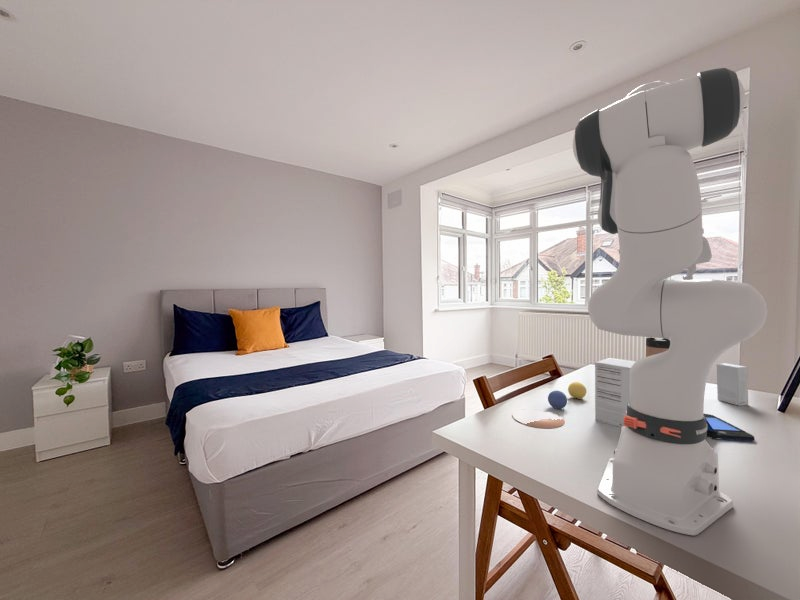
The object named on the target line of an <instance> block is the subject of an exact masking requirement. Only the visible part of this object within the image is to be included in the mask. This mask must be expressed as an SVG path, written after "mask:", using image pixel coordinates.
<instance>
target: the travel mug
mask: <svg viewBox="0 0 800 600" xmlns="http://www.w3.org/2000/svg"><path fill="white" fill-rule="evenodd" d="M669 347H670V340H668V339H665V338H659V339H658V338H655V337H645V357H648V356H651V355H655V354H659V353H662V352H665V351H666V350H668V349H669Z"/></svg>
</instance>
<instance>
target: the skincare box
mask: <svg viewBox="0 0 800 600" xmlns="http://www.w3.org/2000/svg"><path fill="white" fill-rule="evenodd" d="M748 371H749V370H748V366H745V365H740V364H733V363H727V362H722V363H721V362H720V363H717V364H716V385H717V386H716V387H717V388H716V389H717V401H721V402H724V403H729V404H731V405H736V406H740V407H742V406H748V405H749V376H748V375H749V373H748Z"/></svg>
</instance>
